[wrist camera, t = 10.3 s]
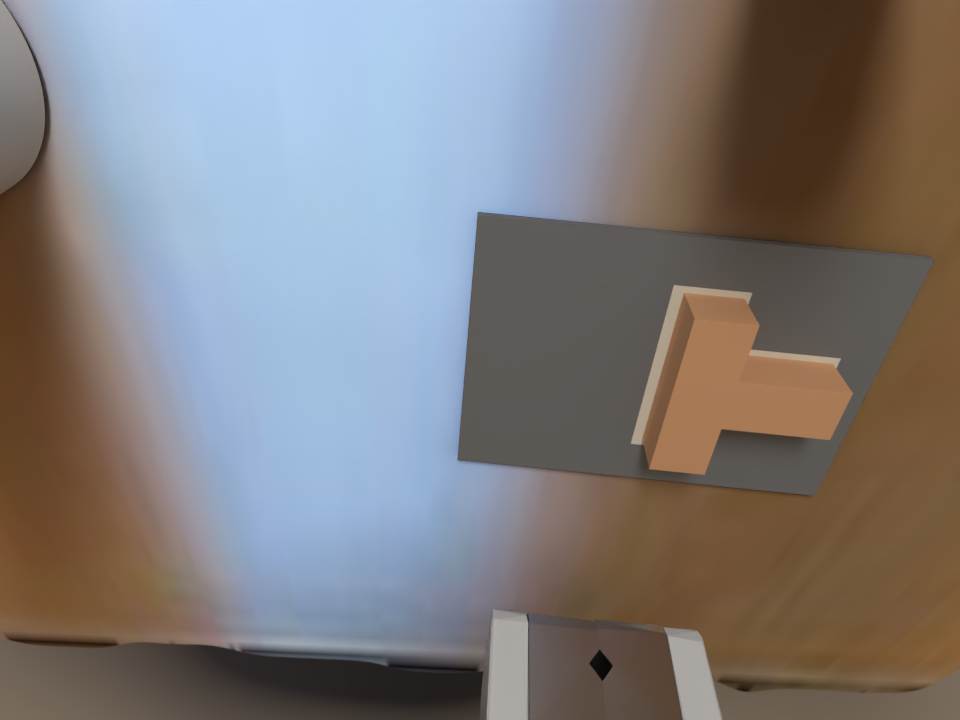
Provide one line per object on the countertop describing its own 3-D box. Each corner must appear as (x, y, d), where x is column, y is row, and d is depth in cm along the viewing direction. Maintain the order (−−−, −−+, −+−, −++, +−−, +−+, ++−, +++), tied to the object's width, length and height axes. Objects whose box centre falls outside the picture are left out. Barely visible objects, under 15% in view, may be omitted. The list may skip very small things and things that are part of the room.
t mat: (458, 454, 47) (457, 459, 46) (478, 212, 37) (477, 215, 36) (812, 490, 47) (815, 495, 46) (929, 256, 37) (934, 260, 36)
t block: (642, 438, 44) (649, 469, 42) (683, 292, 38) (694, 318, 36) (791, 453, 44) (807, 485, 42) (857, 309, 38) (880, 337, 36)
